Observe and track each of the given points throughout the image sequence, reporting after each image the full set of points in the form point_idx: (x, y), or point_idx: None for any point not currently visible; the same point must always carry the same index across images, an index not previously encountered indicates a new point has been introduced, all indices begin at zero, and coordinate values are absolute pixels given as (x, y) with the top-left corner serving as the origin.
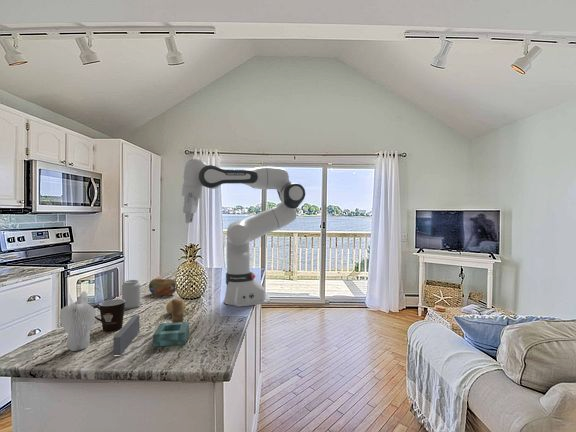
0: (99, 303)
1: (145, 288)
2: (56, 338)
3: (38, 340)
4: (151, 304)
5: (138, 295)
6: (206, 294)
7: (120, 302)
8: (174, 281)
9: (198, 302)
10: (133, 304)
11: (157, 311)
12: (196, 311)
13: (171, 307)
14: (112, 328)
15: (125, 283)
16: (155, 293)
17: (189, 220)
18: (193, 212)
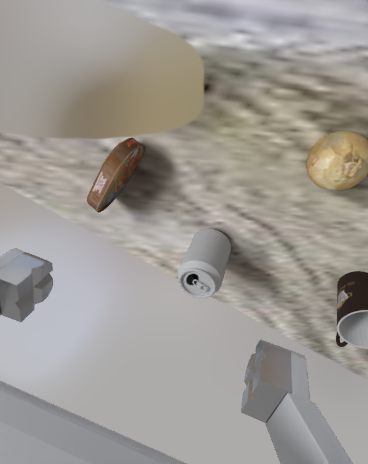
0: (357, 346)
1: (59, 201)
2: (346, 346)
3: (338, 361)
4: (212, 203)
5: (217, 247)
6: (162, 21)
7: (350, 309)
8: (115, 150)
9: (255, 68)
10: (229, 246)
11: (285, 197)
12: (360, 90)
13: (361, 180)
14: None
15: (209, 295)
16: (121, 186)
17: (308, 385)
18: (113, 443)
